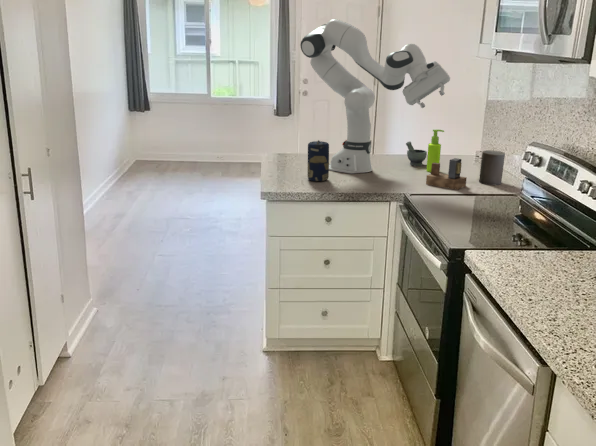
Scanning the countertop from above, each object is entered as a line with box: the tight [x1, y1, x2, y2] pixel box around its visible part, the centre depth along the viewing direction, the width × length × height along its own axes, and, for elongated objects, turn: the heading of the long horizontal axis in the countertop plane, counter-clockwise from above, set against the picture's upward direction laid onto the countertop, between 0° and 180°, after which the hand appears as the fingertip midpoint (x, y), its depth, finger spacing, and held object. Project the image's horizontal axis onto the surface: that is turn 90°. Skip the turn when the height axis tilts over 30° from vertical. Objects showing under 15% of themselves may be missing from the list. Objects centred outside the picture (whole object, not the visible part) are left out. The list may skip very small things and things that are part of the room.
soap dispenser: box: [426, 129, 445, 173], centre depth 284 cm, size 6×7×20 cm
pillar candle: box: [478, 149, 506, 186], centre depth 263 cm, size 10×10×15 cm
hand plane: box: [425, 162, 467, 191], centre depth 258 cm, size 15×8×9 cm, turn 50°
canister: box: [307, 139, 330, 182], centre depth 265 cm, size 10×10×18 cm
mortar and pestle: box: [405, 141, 428, 167], centre depth 300 cm, size 11×9×12 cm
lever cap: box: [447, 157, 463, 179], centre depth 255 cm, size 4×5×12 cm
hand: (432, 100), depth 249 cm, fingers open, 8 cm apart
